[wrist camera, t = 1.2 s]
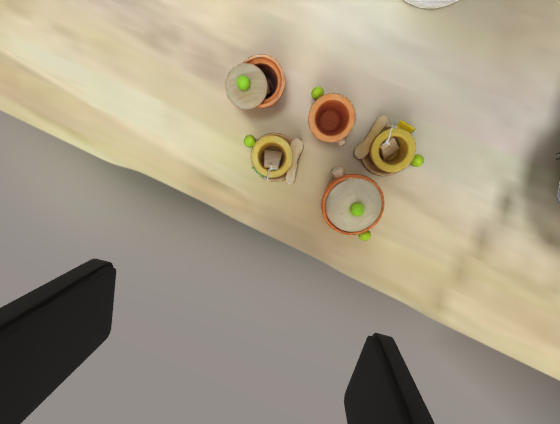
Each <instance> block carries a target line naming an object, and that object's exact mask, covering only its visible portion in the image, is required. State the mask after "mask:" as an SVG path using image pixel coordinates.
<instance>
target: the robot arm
mask: <svg viewBox="0 0 560 424" xmlns="http://www.w3.org/2000/svg"><path fill="white" fill-rule="evenodd" d="M405 1H406V2H408V3H409V4H411V5H414V6H417V7H420V8H428V9H432V8H441V7H444V6H448V5H451V4H453V3H455V2H457V1H459V0H405ZM115 279H116V269H115V268H113V265H112V263H111V262H107V261H103V260H99V259H92V260H90V261H88V262H86V263H84V264H82V265H80V266H78V267H76V268H74V269H72V270H71V271H69V272H67V273H65V274H63V275H61V276H59V277H57V278H56V279H54V280H52V281H50V282H48V283H46V284H44V285H43V286H41V287H39V288H37V289H35V290H33V291H31V292H29V293H28V294H26V295H24V296H22V297H20V298H18V299H16V300H14V301H12V302H11V303H9V304H7V305H5V306H3V307H1V308H0V424H21V423H22V422H23V420H25V419H26V417H28V415H30V414H31V413H32V412H33V411H34V410H35V409H36V408H37V407H38V406H39V405H40V404H41V403H42V402H43V401H44V400H45V399H46V398H47V397H48V396H49V395H50V394H51V393H52V392H53V391H54V390H55V389H56V388H57V387H58V386H59V385H60V384H61V383H62V382H63V381H64V380H65V379H66V378H67V377H68V376H69V375H70V374H71V373H72V372H73V371H74V370H75V369H76V368H77V367H79V366H80V365H81V364H82V363H83V362H84V361H85V360H86V358H88V357H89V356H90V355H91V354H92V353H93V352H94V351H95V350H96V349H97V348H98V347H99V346H100V345H101V344H102V343H103V342H104V341H105V340H106V339H107V337H108V336H109V334H110V331H111V324H112V313H113V301H114V290H115ZM344 405H345V411H346V417H347V423H348V424H434V422H433V420H432V417H431V415H430V413H429V411H428V409H427V407H426V405H425V403H424V401H423V399H422V397H421V395H420V393H419V391H418V389H417V387H416V385H415V382H414V380H413V378H412V376H411V374H410V372H409V370H408V368H407V366H406V364H405V362H404V360H403V358H402V356H401V354H400V352H399V349H398V347H397V345H396V343H395V341H394V339H393V338H392V337H390V336H386V335H382V334H378V333H374V334H373V336H368V337H367V339H366V342H365V344H364V347H363V349H362V352H361V355H360V357H359V359H358V362H357V365H356V367H355V370H354V372H353V374H352V377H351V380H350V382H349V385H348V387H347V390H346V393H345V397H344Z"/></svg>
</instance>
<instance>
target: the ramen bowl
mask: <svg viewBox="0 0 560 424" xmlns="http://www.w3.org/2000/svg"><path fill="white" fill-rule="evenodd" d="M557 154H560V152H559V153H556V155H557ZM558 159H560V158H556V160H558ZM557 197H558V202H559V205H560V182H559V188H558V194H557Z"/></svg>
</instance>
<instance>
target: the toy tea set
mask: <svg viewBox="0 0 560 424" xmlns="http://www.w3.org/2000/svg"><path fill="white" fill-rule="evenodd" d="M284 86H285V76H284V72H283V69H282V67H281V66H280V64H279V63H278V62H277V61H276V60H275V59H274V58H272V57H270V56H268V55H263V54H258V55H254V56H251V57H249V58H248V59H246V60H245V61H244V62H243V63H242V64H239V65H237V66H235V67H234V68H233V69H232V70H231V71H230V72H229V74H228V75H227V78H226V82H225V90H226V94H227V96H228V98H229V100H230V101H231V102H232V103H233V104H234V105H235V106H236V107H238V108H241V109H247V110H248V109H253V108H255V107H258V108H267V107H271V106H273V105H274V104H276V103H277V102H278V100H279V99H280V97H281V95H282V93H283V91H284ZM323 95H324V91H323V89H322V88H321V87H315V88H314V89H313V90H312V97H313V99H315V100H316V101H315V102H314V104H313V105H312V107H311V109H310V112H309V117H308V121H309V126H310V129H311V131H312V133H313V134H314V135H315V136H316V137H317V138H318V139H320V140H322V141H324V142H337V143H338V145H339V146H343V145H344V144H345V143H346V141H345V139H344V138H345V137H346V136H347V135H348V134H349V133H350V132H351V130H352V128H353V126H354V123H355V110H354V107H353V105H352V104H351V102H350V101H349V100H348V99H347V98H346V97H344V96H343V95H340V94H335V93H332V94H326V95H324V96H323ZM387 123H388V118H387V117H386V116H380V117H379V118H377V120H376V121H375V123H374V125H373V127H372V128H371V130H370V132H369V134H368V135H367V136H366V138H365V139H364V141H363V142H361V143H360V144H358V145H357V146H356V148H355V150H354V155H355V157H356V158H358V159H362V161H363V164H364V165H365V167H366V168H367V169H368V170H369V171H370V172H372V173H374V174H376V175H380V176H387V175H392V174H395V173H397V172H399V171H401V170H403V169H404V168H406V167H407V166H408V165H409V164H410V163H411V165H412V166H415V167H419V166H421V165H422V164H423V162H424V158H423V157H422V156H421V155H418V154H417V155H415V153H416V143H415V140H414V138H413V137H412V135H411V134H410V133H411V132H413V131H414V130H415V128H414V127H412V126H411V125H409V124H407V123H405V122H404V121H402V120H401V121H400V122H399V123H398V125H396V126H395V125H386V124H387ZM244 143H245V145H246V146H248V147H253V148H252V151H251V162H252V166H253V167H252V168H253V169H254V170H255V171H256V173H257V174H258V175H259V176H260V177H262V178H263V179H265V180H268V181H281V180H284V179H285V180H286V183H287V184H292V183H293V182H294V180H295V176H296V167H297V163H298V157H299V155H300V154H301V152H302V150H303V143H302V141H301V140H300V139H298V138H295V139H294V140H293V141H292V140H291V139H290V138H289V137H287V136H285V135H283V134H280V133H269V134H266V135H264V136H262V137H260V138H259V139H258V140H257V141H256V139H255V138H254V137H253V136H252V135H247V136H246V137H245V139H244ZM331 174H332V176H333V179H334V180H333V181H332V182H331V183H330V184H329V185H328V186H327V188H326V190H325V192H324V194H323V198H322V203H321V209H322V214H323V217H324V219H325V220H326V222H327V223H328V224H329V226H330V227H332V228H333V229H334V230H336V231H338V232H340V233H343V234H347V235H355V234H359V238H360V239H361V240H363V241H367V240H369V239H370V237H371V233H370V231H369V229H371V228H372V227H373V226H375V224H376V223H377V222H378V221H379V219H380V218H381V216H382V213H383V210H384V197H383V193H382V191H381V189H380V188H379V186H378V185H377V184H376V183H375V182H374V181H373V180H371V179H370V178H368V177H366V176H363V175H357V174H351V175H345V173H344V170H343V168H342V167H336V168H334V169H333V170H332V171H331Z"/></svg>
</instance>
